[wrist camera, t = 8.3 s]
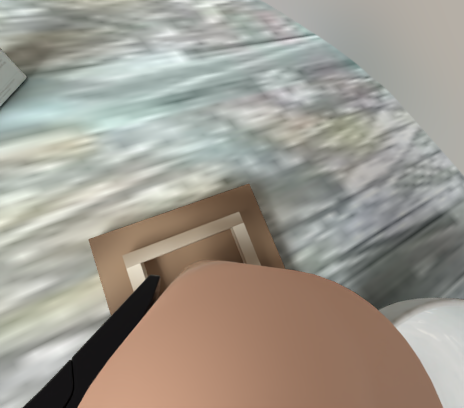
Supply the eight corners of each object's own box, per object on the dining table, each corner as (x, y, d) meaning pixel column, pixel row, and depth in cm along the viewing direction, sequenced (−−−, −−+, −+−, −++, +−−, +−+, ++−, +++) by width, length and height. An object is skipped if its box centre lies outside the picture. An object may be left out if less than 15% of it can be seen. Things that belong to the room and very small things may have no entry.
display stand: (304, 328, 20) (321, 339, 17) (149, 415, 17) (141, 445, 14) (245, 188, 22) (252, 179, 19) (96, 240, 19) (80, 238, 16)
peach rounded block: (254, 316, 15) (534, 589, 3) (184, 352, 14) (116, 1136, 2) (227, 248, 16) (351, 217, 4) (158, 276, 15) (-26, 385, 2)
